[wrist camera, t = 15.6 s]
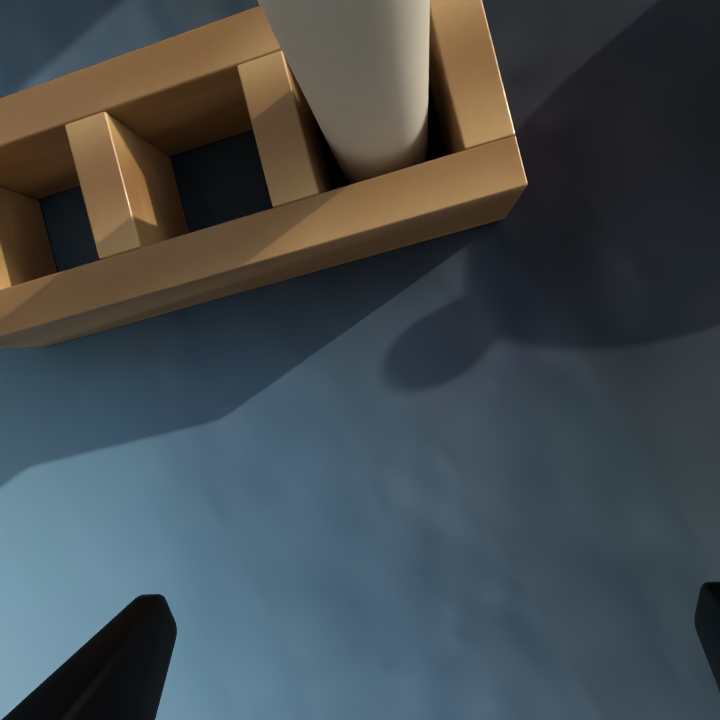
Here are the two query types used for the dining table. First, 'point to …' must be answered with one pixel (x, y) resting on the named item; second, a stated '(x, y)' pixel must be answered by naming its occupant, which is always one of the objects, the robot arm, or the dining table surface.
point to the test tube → (361, 76)
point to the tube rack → (210, 124)
